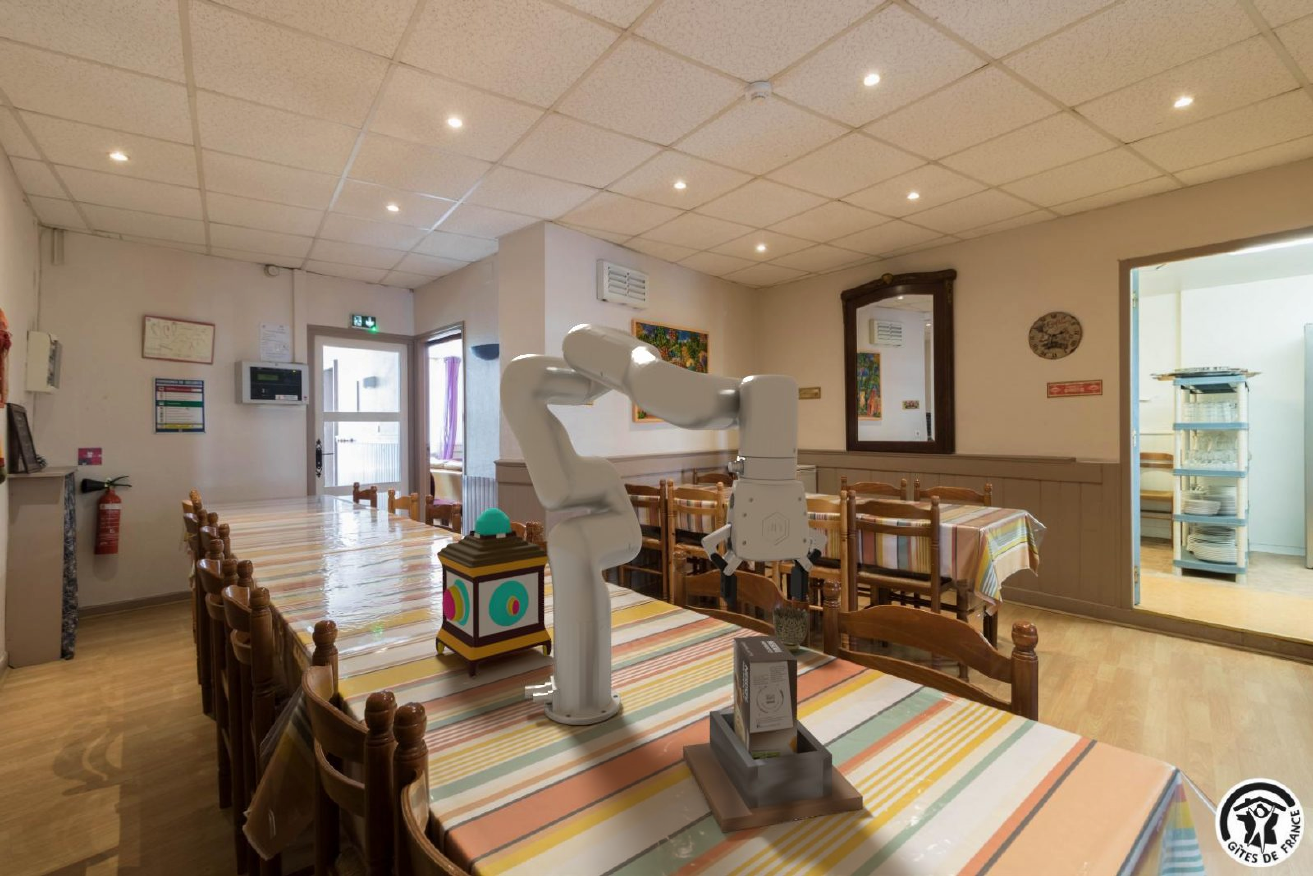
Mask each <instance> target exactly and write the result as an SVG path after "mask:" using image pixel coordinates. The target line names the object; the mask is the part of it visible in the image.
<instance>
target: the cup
mask: <svg viewBox="0 0 1313 876" xmlns="http://www.w3.org/2000/svg"><path fill="white" fill-rule="evenodd" d="M809 617H810V614H809V611H807V610H806V609H803V610H801V608H799V607H798V609H797V610H796V609H795V607H791V608H790V606H788V607H786V608H785V607H783V606H782V607H781V608H779V607H775V609H772V618H773V619H772V621H773V629H774V634H775V636H776V637H777V638H778V639H779V640H780V641H781V642H782V643H783V645H784V646H785V647H786V648H787V649H788V650H789V651H790V652H791V653H796V652H798V651H799V650H800V644H802V643H803V642H804V641H805V639H806V636H807V633H808V626H809Z"/></svg>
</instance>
